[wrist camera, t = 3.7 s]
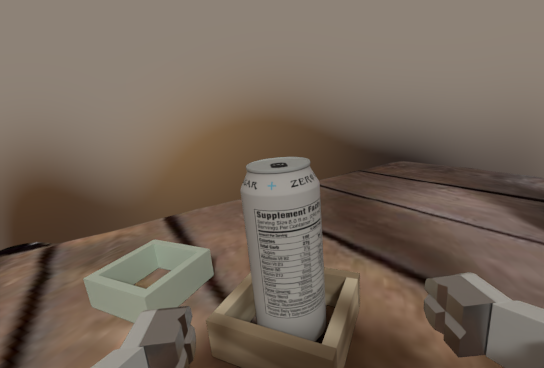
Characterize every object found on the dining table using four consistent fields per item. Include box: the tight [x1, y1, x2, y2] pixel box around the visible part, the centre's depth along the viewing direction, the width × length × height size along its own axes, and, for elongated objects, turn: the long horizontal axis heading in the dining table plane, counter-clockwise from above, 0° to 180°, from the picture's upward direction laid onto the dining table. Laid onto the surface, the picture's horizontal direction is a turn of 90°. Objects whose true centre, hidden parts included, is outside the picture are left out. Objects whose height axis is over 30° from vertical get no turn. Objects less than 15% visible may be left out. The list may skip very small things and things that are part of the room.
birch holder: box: [206, 267, 360, 368], centre depth 24 cm, size 10×10×4 cm
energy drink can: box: [241, 157, 326, 342], centre depth 23 cm, size 6×6×15 cm
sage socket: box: [83, 240, 214, 323], centre depth 32 cm, size 9×9×4 cm
